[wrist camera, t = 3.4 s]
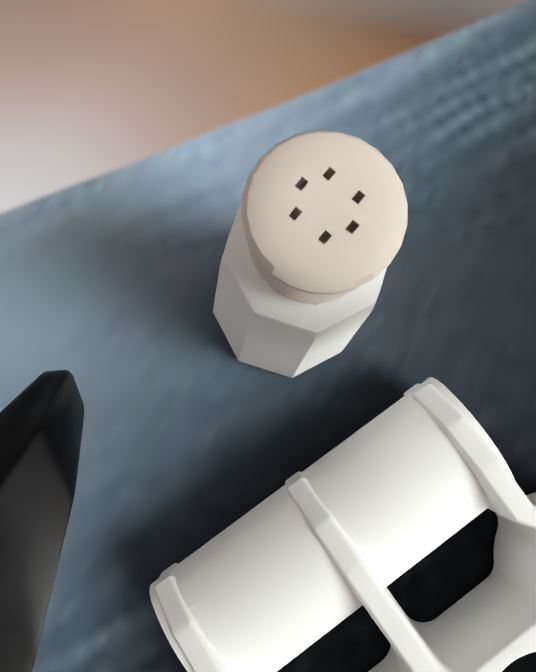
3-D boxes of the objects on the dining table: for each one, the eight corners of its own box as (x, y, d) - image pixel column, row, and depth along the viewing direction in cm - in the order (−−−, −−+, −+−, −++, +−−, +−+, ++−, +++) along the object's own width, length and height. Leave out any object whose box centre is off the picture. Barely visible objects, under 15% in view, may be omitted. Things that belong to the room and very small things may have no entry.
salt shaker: (183, 314, 19) (89, 223, 8) (275, 207, 20) (305, -15, 9) (294, 408, 19) (351, 443, 8) (385, 297, 19) (556, 187, 8)
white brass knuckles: (481, 328, 19) (725, 654, 19) (84, 622, 18) (327, 988, 17) (529, 317, 16) (829, 714, 15) (45, 677, 15) (346, 1135, 14)
